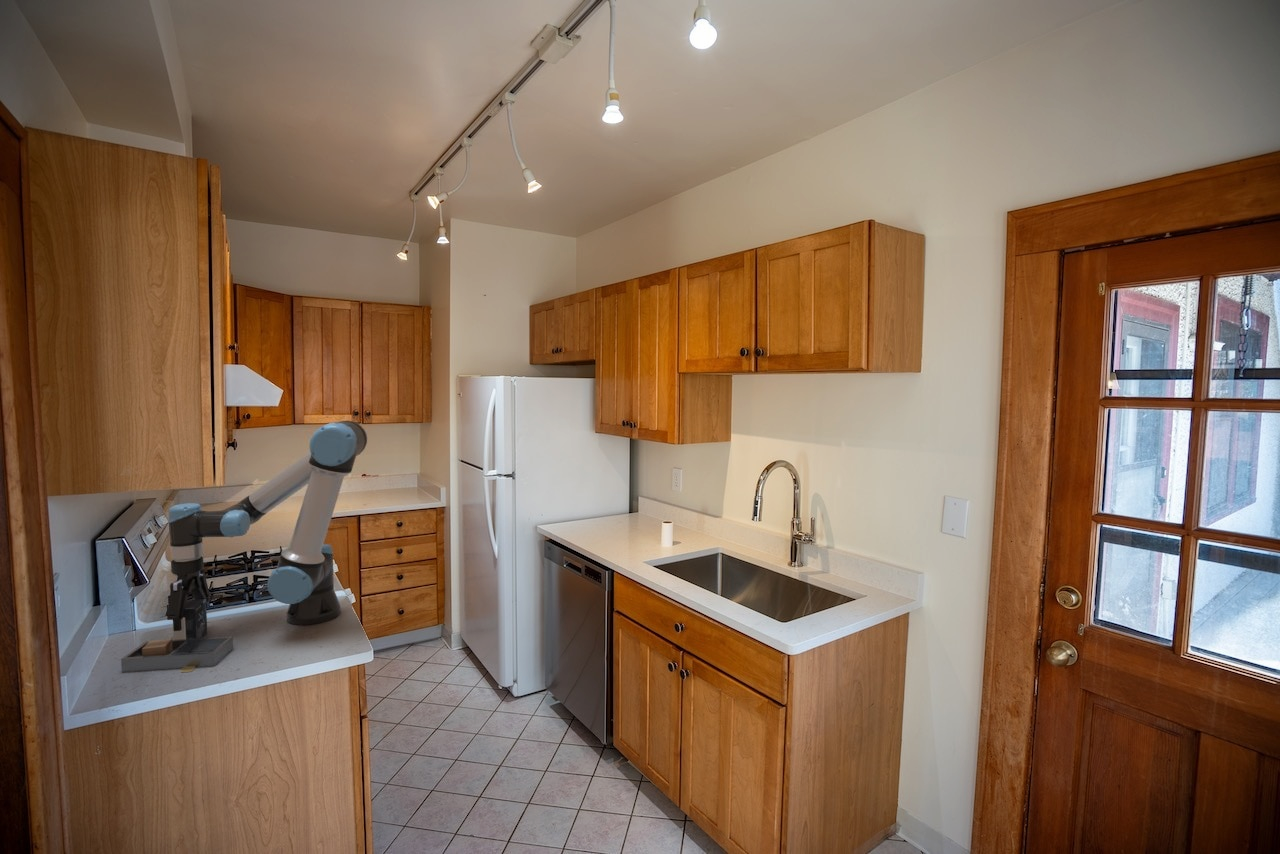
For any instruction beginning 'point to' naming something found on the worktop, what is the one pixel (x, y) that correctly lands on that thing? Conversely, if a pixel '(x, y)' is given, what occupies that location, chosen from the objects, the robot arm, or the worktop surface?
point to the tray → (180, 655)
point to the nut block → (157, 648)
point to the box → (195, 618)
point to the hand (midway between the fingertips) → (190, 632)
